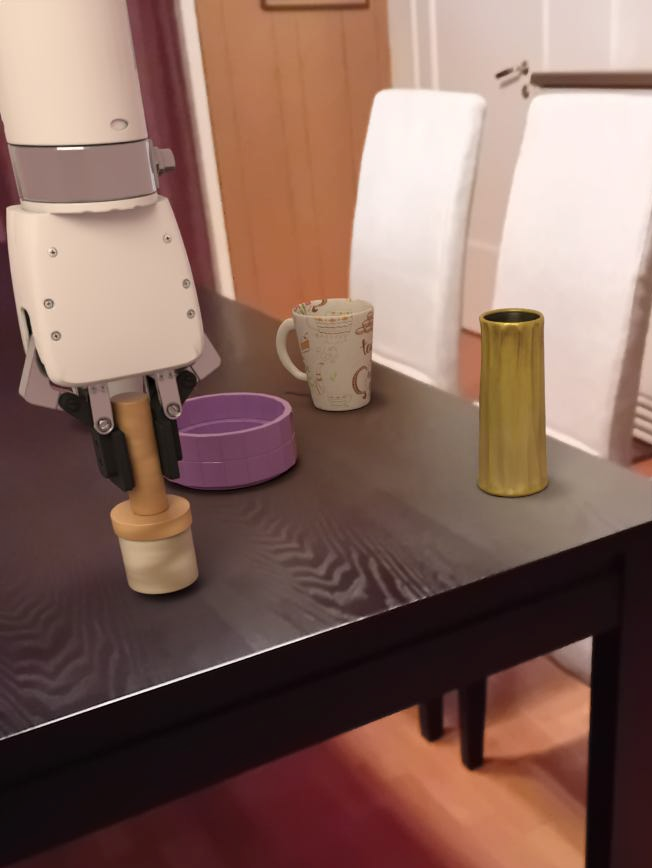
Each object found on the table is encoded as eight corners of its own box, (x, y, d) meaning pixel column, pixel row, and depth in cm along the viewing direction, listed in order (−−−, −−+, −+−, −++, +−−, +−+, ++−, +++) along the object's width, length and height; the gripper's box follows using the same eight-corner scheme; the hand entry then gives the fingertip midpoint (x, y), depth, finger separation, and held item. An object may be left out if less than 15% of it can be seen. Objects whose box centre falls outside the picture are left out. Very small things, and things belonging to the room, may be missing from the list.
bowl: (195, 505, 85) (185, 446, 82) (140, 466, 93) (129, 411, 91) (322, 470, 91) (316, 414, 88) (260, 436, 99) (252, 384, 97)
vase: (529, 467, 91) (529, 303, 83) (560, 490, 86) (563, 318, 78) (466, 478, 89) (461, 311, 81) (495, 503, 84) (492, 328, 76)
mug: (351, 419, 103) (341, 319, 98) (255, 403, 109) (242, 308, 104) (395, 397, 110) (389, 302, 104) (303, 383, 115) (292, 292, 110)
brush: (142, 603, 68) (103, 415, 61) (114, 575, 71) (74, 395, 65) (213, 581, 70) (184, 398, 64) (183, 555, 74) (152, 380, 67)
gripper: (191, 161, 64) (230, 437, 74) (-82, 182, 56) (2, 491, 65) (244, 171, 59) (279, 467, 69) (-48, 197, 51) (38, 530, 60)
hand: (144, 477), depth 67 cm, fingers closed on brush, 2 cm apart
